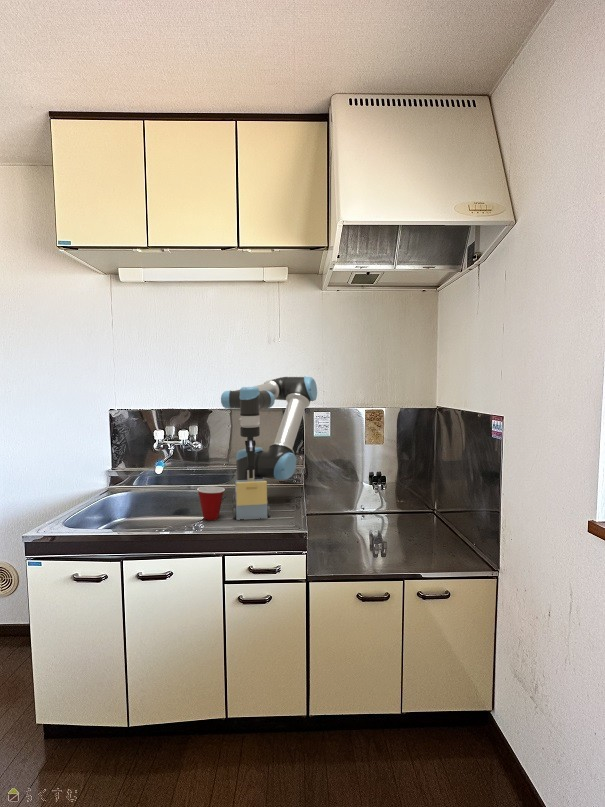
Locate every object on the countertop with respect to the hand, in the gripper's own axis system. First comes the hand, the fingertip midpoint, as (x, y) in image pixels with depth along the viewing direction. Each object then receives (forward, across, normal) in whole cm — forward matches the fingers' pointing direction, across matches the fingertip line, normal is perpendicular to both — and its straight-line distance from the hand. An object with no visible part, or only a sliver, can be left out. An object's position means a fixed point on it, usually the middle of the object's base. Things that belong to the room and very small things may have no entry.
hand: (250, 485), depth 186 cm
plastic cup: (+13, -1, -16) cm, 20 cm away
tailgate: (+6, +4, 0) cm, 8 cm away
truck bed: (+12, -4, 0) cm, 13 cm away
